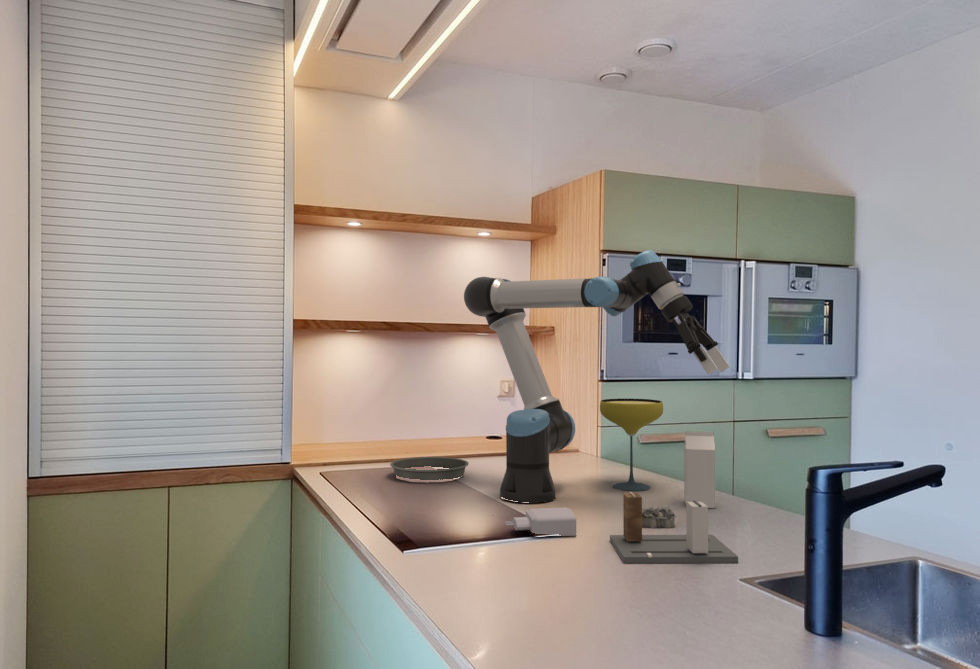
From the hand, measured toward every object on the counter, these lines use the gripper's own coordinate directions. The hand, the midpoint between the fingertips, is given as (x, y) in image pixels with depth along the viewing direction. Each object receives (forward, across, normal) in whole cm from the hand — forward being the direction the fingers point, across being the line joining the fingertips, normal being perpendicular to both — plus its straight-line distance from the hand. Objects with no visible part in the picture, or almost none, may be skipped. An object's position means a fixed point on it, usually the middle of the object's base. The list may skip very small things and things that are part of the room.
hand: (719, 370), depth 176 cm
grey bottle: (+12, -43, +44) cm, 63 cm away
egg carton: (+23, -23, +29) cm, 43 cm away
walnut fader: (+23, -42, +25) cm, 54 cm away
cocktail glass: (+13, +14, +43) cm, 47 cm away
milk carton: (+26, +2, +24) cm, 36 cm away
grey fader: (+30, -43, +14) cm, 54 cm away
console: (+28, -41, +20) cm, 54 cm away
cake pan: (-20, -4, +93) cm, 95 cm away
